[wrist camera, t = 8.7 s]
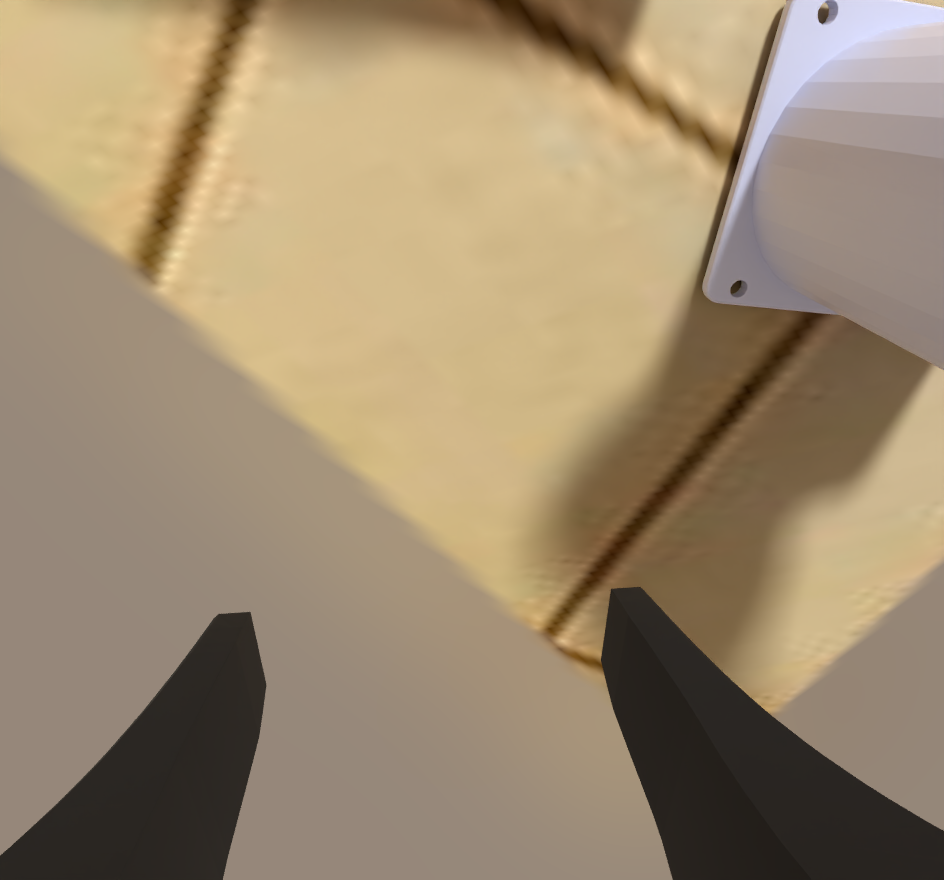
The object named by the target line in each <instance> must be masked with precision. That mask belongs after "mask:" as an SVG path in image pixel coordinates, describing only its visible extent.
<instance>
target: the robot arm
mask: <svg viewBox="0 0 944 880" xmlns="http://www.w3.org/2000/svg"><path fill="white" fill-rule="evenodd" d="M824 2H825V3H827V4H828V7H829V16H828V17H827V19H826V21H825V22H824V23H823V24H821V23H819V20H818V18H817V16H818V10H819V8H820V6H821V4H823V3H824ZM739 280H741V287H740V289H739V290H738V291H737V292H736V293H733V294H731V293H730V288H731V286H732V285H733V283H735V282H736V281H739ZM702 290H703V293H704V295H705V296H706V297H707V298H708V299H709V300H711V301H712V302H715V303H721V304H731V305H741V306H752V307H762V308H772V309H782V310H793V311H803V312H813V313H823V314H833V315H842V316H843V317H845V318H847V319H849V320H851V321H853V322H855V323H857V324H858V325H860V326H862V327H864V328H866V329H868V330H870V331H872V332H873V333H875V334H877V335H879V336H881V337H883V338H885V339H886V340H888V341H890V342H892V343H894V344H896V345H898V346H900V347H901V348H903V349H905V350H907V351H909V352H911V353H913V354H915V355H916V356H918V357H920V358H922V359H924V360H926V361H928V362H929V363H931V364H933V365H935V366H937V367H939V368H941V369H943V370H944V8H942V7H936V6H931V5H925V4H919V3H914V2H908V1H902V0H787V2H786V4H785V6H784V8H783V12H782V15H781V19H780V22H779V25H778V29H777V32H776V36H775V39H774V42H773V46H772V49H771V53H770V56H769V59H768V63H767V66H766V70H765V73H764V76H763V80H762V83H761V87H760V90H759V93H758V97H757V100H756V104H755V107H754V110H753V114H752V117H751V121H750V124H749V127H748V131H747V134H746V138H745V141H744V144H743V148H742V151H741V155H740V158H739V161H738V165H737V168H736V172H735V175H734V178H733V182H732V185H731V189H730V192H729V195H728V199H727V202H726V206H725V209H724V212H723V216H722V219H721V223H720V226H719V229H718V233H717V236H716V240H715V243H714V246H713V250H712V253H711V257H710V260H709V263H708V267H707V270H706V274H705V277H704V280H703V286H702ZM601 662H602V666H603V670H604V675H605V679H606V683H607V687H608V691H609V695H610V699H611V702H612V706H613V710H614V712H615V715H616V718H617V721H618V723H619V726H620V729H621V731H622V734H623V737H624V739H625V742H626V745H627V747H628V750H629V752H630V755H631V758H632V760H633V763H634V766H635V768H636V771H637V774H638V776H639V779H640V781H641V784H642V787H643V789H644V792H645V795H646V797H647V800H648V802H649V805H650V808H651V810H652V813H653V816H654V818H655V821H656V824H657V827H658V830H659V833H660V836H661V839H662V843H663V846H664V850H665V853H666V857H667V860H668V864H669V868H670V871H671V874H672V878H673V880H944V831H943V830H941V829H939V828H937V827H936V826H934V825H932V824H930V823H928V822H927V821H925V820H923V819H922V818H920V817H918V816H916V815H915V814H913V813H912V812H910V811H908V810H907V809H905V808H903V807H902V806H900V805H898V804H897V803H895V802H893V801H892V800H890V799H888V798H887V797H885V796H884V795H882V794H880V793H879V792H877V791H876V790H874V789H873V788H871V787H869V786H868V785H866V784H865V783H863V782H862V781H860V780H859V779H857V778H856V777H854V776H853V775H851V774H850V773H848V772H847V771H845V770H844V769H843V768H841V767H840V766H838V765H837V764H835V763H834V762H832V761H831V760H829V759H828V758H827V757H825V756H823V755H822V754H821V753H819V752H818V751H817V750H815V749H814V748H813V747H811V746H810V745H808V744H807V743H806V742H804V741H803V740H802V739H801V738H799V737H798V736H797V735H796V734H794V733H793V732H792V731H790V730H789V729H788V728H787V727H785V726H784V725H783V724H781V723H780V722H779V721H778V720H776V719H775V718H774V717H773V716H771V715H770V714H769V713H768V712H767V711H765V710H764V709H763V708H762V707H761V706H760V705H758V704H757V703H756V702H755V701H754V700H753V699H752V698H750V697H749V696H748V695H747V694H746V693H745V692H744V691H743V690H741V689H740V688H739V687H738V686H737V685H736V684H735V683H734V682H733V681H732V680H731V679H729V678H728V677H727V676H726V675H725V674H724V673H723V672H722V671H721V670H720V669H719V668H718V667H717V666H716V665H715V664H714V663H713V662H712V661H711V660H710V659H709V658H708V657H707V656H706V655H705V654H704V653H703V652H702V651H701V650H700V649H699V648H698V647H697V646H696V645H695V644H694V643H693V642H692V641H691V640H690V639H689V638H688V637H687V636H686V635H685V634H684V633H683V632H682V631H681V630H680V629H679V628H678V627H677V625H676V624H675V623H674V622H673V621H672V620H671V619H670V618H669V617H668V616H667V615H666V614H665V613H664V612H663V610H662V609H661V608H660V607H659V606H658V605H657V604H656V603H655V602H654V601H653V600H652V599H651V597H650V596H649V595H648V594H647V593H646V592H645V591H644V590H643V589H642V588H641V587H632V588H617V589H611V594H610V601H609V608H608V615H607V622H606V629H605V636H604V643H603V650H602V657H601ZM265 690H266V681H265V677H264V672H263V668H262V663H261V659H260V654H259V649H258V645H257V640H256V636H255V631H254V626H253V622H252V617H251V613H250V612H244V613H228V614H218V615H217V616H216V617H215V618H214V619H213V620H212V622H211V623H210V625H209V626H208V627H207V629H206V630H205V631H204V633H203V634H202V636H201V637H200V638H199V640H198V641H197V642H196V644H195V645H194V646H193V648H192V649H191V651H190V652H189V653H188V655H187V656H186V658H185V659H184V660H183V661H182V663H181V664H180V665H179V667H178V668H177V669H176V671H175V672H174V673H173V674H172V676H171V677H170V678H169V679H168V681H167V682H166V683H165V684H164V686H163V687H162V688H161V689H160V691H159V692H158V693H157V694H156V696H155V697H154V698H153V700H152V701H151V702H150V703H149V704H148V706H147V707H146V708H145V709H144V711H143V712H142V713H141V714H140V715H139V716H138V718H137V719H136V720H135V721H134V722H133V723H132V725H131V726H130V727H129V728H128V729H127V730H126V731H125V733H124V734H123V735H122V736H121V737H120V738H119V739H118V741H117V742H116V743H115V744H114V745H113V746H112V747H111V749H110V750H109V751H108V752H107V753H106V754H105V755H104V756H103V757H102V758H101V760H99V762H98V763H97V764H96V765H95V766H94V767H93V768H92V769H91V770H90V771H89V772H88V773H87V774H86V775H85V776H84V777H83V778H82V779H81V781H79V782H78V783H77V784H76V786H75V787H73V788H72V789H71V790H70V791H69V792H68V794H66V795H65V797H64V798H62V799H61V800H60V801H59V802H58V803H57V804H56V805H55V806H54V807H53V808H52V809H51V810H50V811H49V812H48V813H47V814H46V815H45V816H43V817H42V818H41V819H40V820H39V821H38V822H37V823H36V824H35V825H34V826H33V827H32V828H31V829H29V830H28V831H27V832H26V833H25V834H24V835H23V836H22V837H21V838H20V839H18V840H17V841H16V842H15V843H14V844H13V845H12V846H11V847H10V848H8V849H7V850H6V851H5V852H4V853H3V854H2V855H0V880H223V876H224V872H225V867H226V862H227V858H228V854H229V850H230V846H231V843H232V838H233V835H234V831H235V827H236V824H237V820H238V816H239V812H240V808H241V805H242V801H243V797H244V793H245V789H246V785H247V782H248V778H249V774H250V770H251V766H252V763H253V759H254V755H255V751H256V747H257V743H258V739H259V734H260V727H261V720H262V714H263V705H264V699H265Z"/></svg>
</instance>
